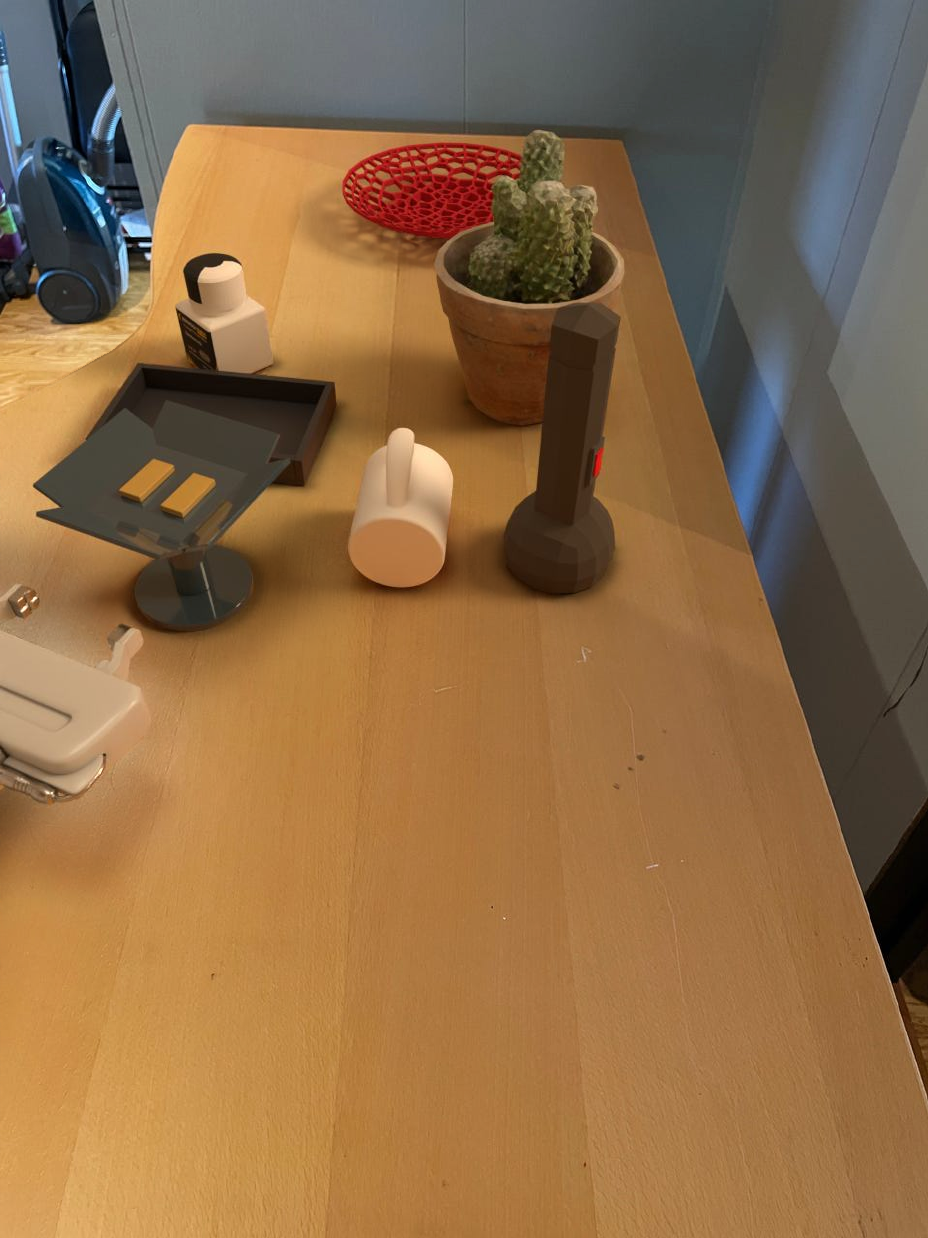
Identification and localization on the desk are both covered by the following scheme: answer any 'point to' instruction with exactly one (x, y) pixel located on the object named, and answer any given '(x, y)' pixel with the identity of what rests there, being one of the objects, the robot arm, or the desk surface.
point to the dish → (182, 547)
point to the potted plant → (523, 281)
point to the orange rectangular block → (147, 480)
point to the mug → (402, 513)
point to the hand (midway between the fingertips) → (81, 611)
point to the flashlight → (569, 460)
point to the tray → (237, 406)
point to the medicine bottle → (222, 318)
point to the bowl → (429, 189)
